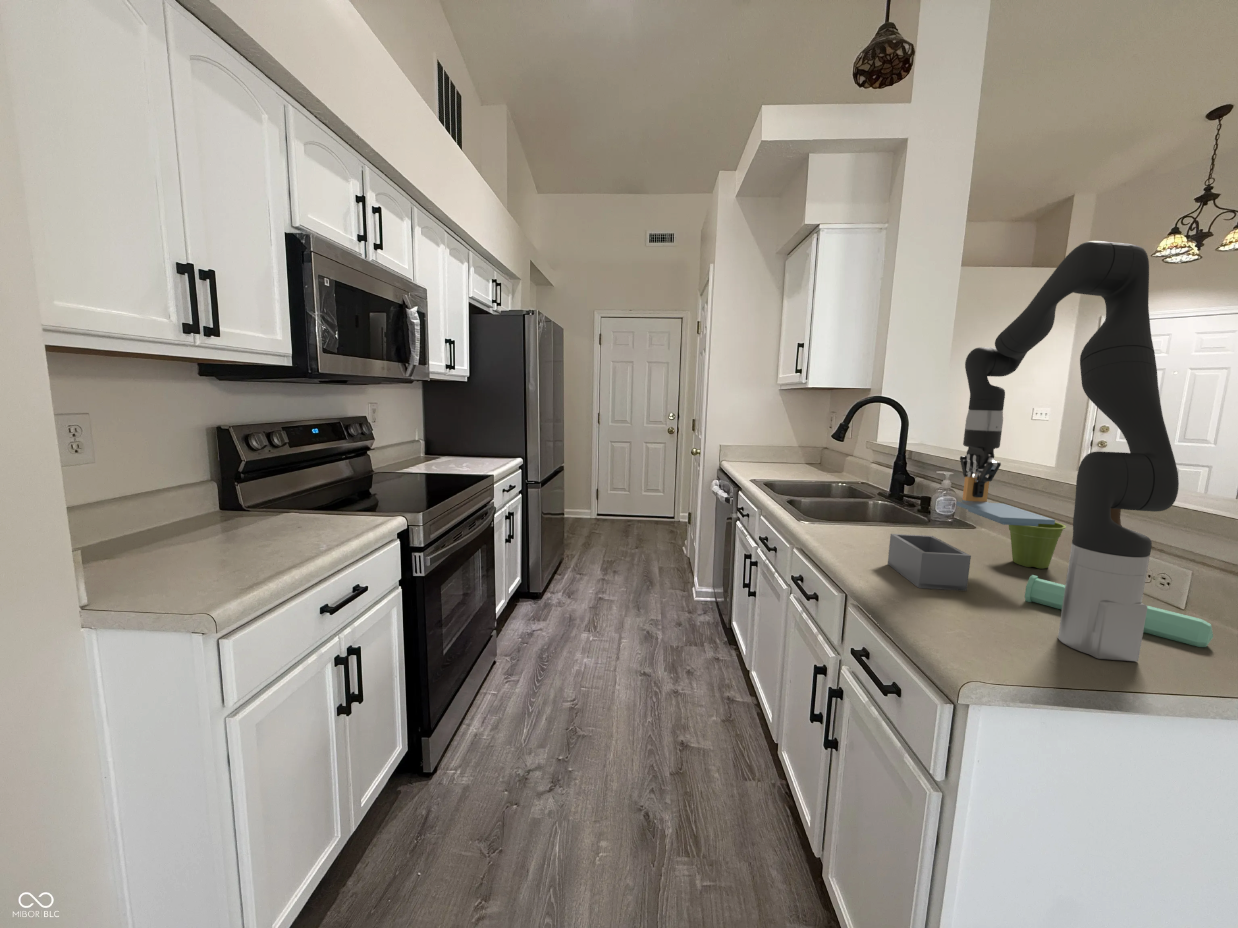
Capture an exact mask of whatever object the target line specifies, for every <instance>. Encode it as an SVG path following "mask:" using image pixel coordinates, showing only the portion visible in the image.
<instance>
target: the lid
mask: <svg viewBox="0 0 1238 928" xmlns="http://www.w3.org/2000/svg"><path fill="white" fill-rule="evenodd" d="M973 486H974V477H964V484H963V492H962V493H963V494H962V498H961V499H962V500H961V501H956V504H955V506H957V507H959V508H962V509H965V510H967V512H969V513H972V514H974V515H977V516H980V517H982V518H985V519H988V520H990V521H993V522H995V523H998V524H1000V525H1004V526H1005V525H1006V526H1007V525H1008V526H1009V525H1023V526H1038V524H1055V522H1056V519H1054V518H1050V517H1047V516H1044V515H1041V514H1037V513H1036V512H1035V513H1034V512H1031V511H1028V510H1026V509H1021V508H1019V507H1016V506H1013V505H1009V504H1007V503H999V502H988V495H989V487H990V481H988V482H986V483H985V485H984V493H983V497H973V496H972V494H973Z"/></svg>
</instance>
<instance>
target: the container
mask: <svg viewBox="0 0 1238 928" xmlns="http://www.w3.org/2000/svg"><path fill="white" fill-rule="evenodd" d="M1065 585H1066V584H1063V583H1057V582H1054V581H1049V580H1046V579H1042V578H1039V576H1038V575H1034V574H1031V575H1030V576H1029V578H1028V580H1027V583H1026V586H1025V592H1024V600H1025V602H1027V603H1032V602H1033V603H1037V604H1041V605H1044V606H1046V607H1047V606H1048V607H1051V608H1055V609H1057V610H1061V611H1062V605H1063V598H1064V591H1065ZM1213 632H1214V631H1213V627H1212V624H1211V623H1209V622H1208V621H1206V620H1204V619H1202V618H1198V617H1195V616H1191V615H1186V614H1182V613H1178V612H1174V611H1170V610H1167V609H1162V608H1159V607H1154V606H1151V605H1147V613H1146V619H1145V625H1144V630H1143V633H1144V634H1145V633H1146V634H1149V635H1153V636H1157V637H1160V638H1164V639H1168V640H1171V641H1176V642H1178V643H1181V644H1187V645H1190V646H1193V647H1198V648H1207V646H1208V645H1209V643H1210V642H1211V641H1212V639H1213V638H1214V633H1213Z"/></svg>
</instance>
